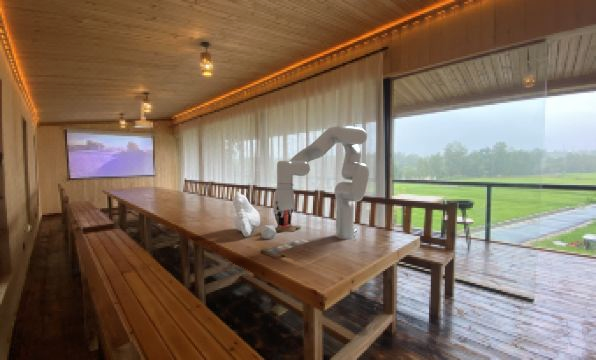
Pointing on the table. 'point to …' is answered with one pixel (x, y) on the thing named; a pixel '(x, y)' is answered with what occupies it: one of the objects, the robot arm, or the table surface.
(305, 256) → the table surface
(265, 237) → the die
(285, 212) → the pawn
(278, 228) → the stone cup
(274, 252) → the board
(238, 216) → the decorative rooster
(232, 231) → the table surface
